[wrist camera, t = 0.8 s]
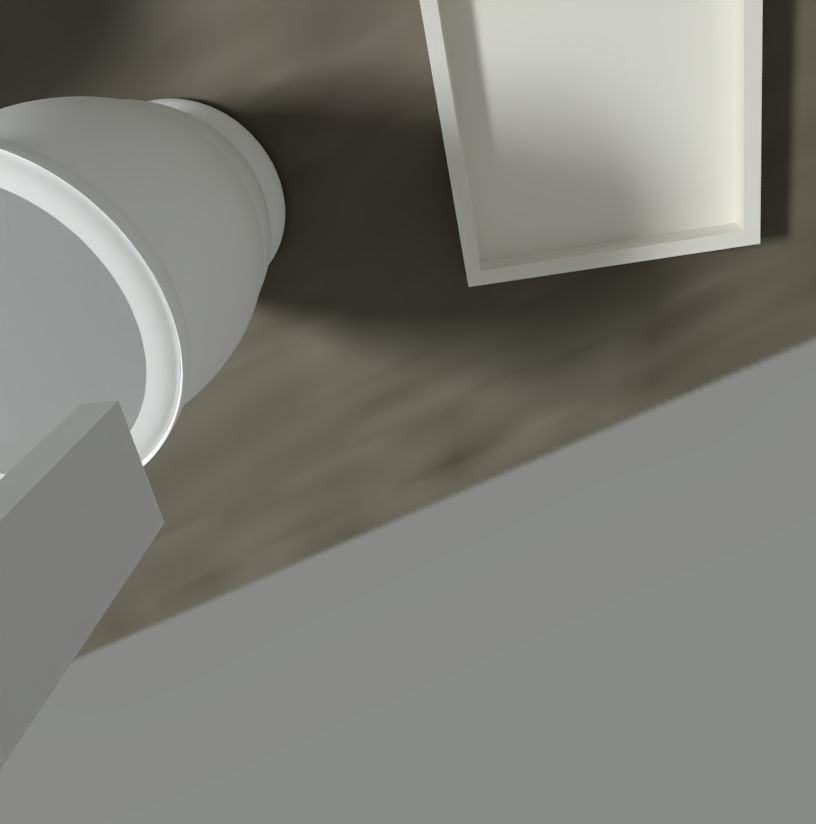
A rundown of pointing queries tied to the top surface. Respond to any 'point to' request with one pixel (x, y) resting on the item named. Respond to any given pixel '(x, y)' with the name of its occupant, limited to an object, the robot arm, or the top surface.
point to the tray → (597, 129)
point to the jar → (125, 259)
